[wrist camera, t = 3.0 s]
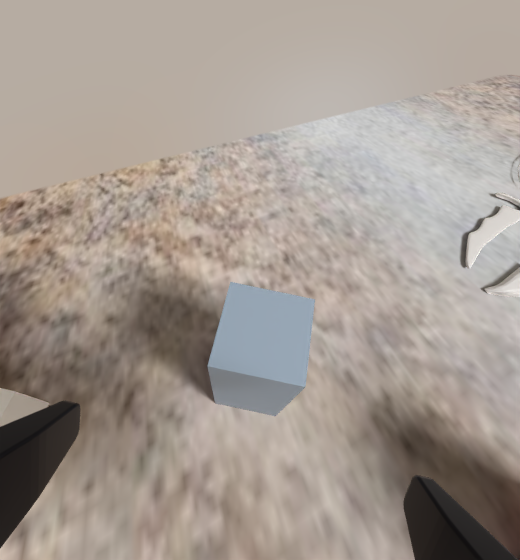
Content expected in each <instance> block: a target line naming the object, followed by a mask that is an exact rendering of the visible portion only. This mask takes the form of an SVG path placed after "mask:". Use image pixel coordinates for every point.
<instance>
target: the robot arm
mask: <svg viewBox="0 0 520 560" xmlns="http://www.w3.org/2000/svg"><path fill="white" fill-rule="evenodd" d="M79 425H80V405H79V404H78V403H75V402H70V401H61V402H59V403H56V404H54V405H51V406H49V407H47V408H44V409H42V410H39V411H37V412H34V413H32V414H30V415H27V416H25V417H22V418H20V419H18V420H15V421H13V422H10V423H8V424H6V425H3V426H1V427H0V548H1V547H2V545H3V544H4V543H5V541H6V540H7V539H8V538H9V536H10V535H11V534H12V532H13V531H14V530H15V528H16V527H17V526H18V524H19V523H20V522H21V520H22V519H23V518H24V516H25V515H26V514H27V512H28V511H29V510H30V509H31V507H32V506H33V504H34V503H35V502H36V500H37V499H38V498H39V496H40V494H41V493H42V491H43V490H44V488H45V487H46V485H47V484H48V482H49V481H50V479H51V477H52V476H53V474H54V473H55V471H56V469H57V468H58V466H59V465H60V463H61V461H62V460H63V458H64V457H65V455H66V453H67V452H68V450H69V449H70V447H71V446H72V444H73V442H74V441H75V439H76V437H77V435H78V432H79ZM404 512H405V516H406V521H407V525H408V530H409V534H410V539H411V544H412V548H413V553H414V557H415V560H518V559H517V558H516V557H515V556H514V555H513V554H511V553H510V552H509V551H508V550H507V549H506V548H505V547H504V546H503V545H502V544H501V543H500V542H499V541H498V540H497V539H496V538H494V537H493V536H492V535H491V534H490V533H489V532H488V531H487V530H486V529H485V528H484V527H483V526H482V525H481V524H480V523H478V522H477V521H476V520H475V519H474V518H473V517H472V516H471V515H470V514H469V513H468V512H467V511H466V510H465V509H464V508H463V507H461V506H460V505H459V504H458V503H457V502H456V501H455V500H454V499H453V498H452V497H451V496H450V495H449V494H448V493H447V492H445V491H444V490H443V489H442V488H441V487H440V486H439V485H438V484H437V483H436V482H435V481H434V480H433V479H431V478H429V477H424V476H419V475H415V476H414V477H413V478H412V480H411V482H410V485H409V487H408V490H407V493H406V495H405V498H404Z"/></svg>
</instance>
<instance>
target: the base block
mask: <svg viewBox="0 0 520 560" xmlns="http://www.w3.org/2000/svg"><path fill="white" fill-rule="evenodd" d="M48 405H49V403H48V402H46V401H43V400H40V399H37V398H34V397H31V396H28V395H25V394H22V393H19V392H16V391H11V390H7V389H2V388H0V427H1V426H3V425H6V424H8V423H10V422H13V421H15V420H18V419H20V418H22V417H25V416H27V415H30V414H32V413H34V412H37V411H39V410H42V409H44V408H47V407H48Z"/></svg>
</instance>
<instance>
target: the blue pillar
mask: <svg viewBox="0 0 520 560" xmlns="http://www.w3.org/2000/svg"><path fill="white" fill-rule="evenodd" d="M314 303H315V299H310V298H305V297H300V296H296V295H291V294H286V293H281V292H276V291H272V290H267V289H262V288H257V287H252V286H248V285H243V284H238V283H233V282H230V286H229V289H228V293H227V297H226V300H225V304H224V308H223V311H222V315H221V318H220V322H219V326H218V329H217V333H216V337H215V340H214V344H213V348H212V351H211V355H210V359H209V362H208V366H207V367H208V371H209V376H210V381H211V386H212V391H213V396H214V401H215V403H217V404H222V405H226V406H231V407H235V408H240V409H245V410H249V411H254V412H259V413H263V414H268V415H273V416H276V415H277V414H278V413H279V412H280V411H281V410H282V409H283V408H284V407H285V406H286V405H287V404H288V403H290V402H291V401H292V400H293V399H294V398H295V397H296V396H297V395H298V394H299V393H300V392H301V391H302V390H303V389H304V388H305V386H306V376H307V367H308V358H309V349H310V340H311V330H312V321H313V312H314Z"/></svg>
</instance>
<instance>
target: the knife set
mask: <svg viewBox="0 0 520 560" xmlns="http://www.w3.org/2000/svg"><path fill="white" fill-rule="evenodd" d="M519 165H520V163H519ZM518 168H519V166H518ZM518 178H519V181H520V176H519V170H518ZM495 195H496V196H497V197H499V198H502V199H505V200H508V201H510V202H512V203H514V204H516V205H517V206H519V207H520V199H516V198H514V197H511V196H509V195H507V194H504V193H495ZM518 221H520V210H516V209H513V208H510V207H508V206H501V208H500V210H499V211H498V213H497V214H496V215H494V216H492V217H490V218H485V219H484V220H483V222H482V224H481V226H480V227H479V229H478V230H476V231H474V232H471V233H469V235H468V240H467V248H466V259H465V261H466V267H467V268H470V267H471V266H472V265H473V263H474V261H475V260H476V258H477V256H478V254H479V253H480V251H481V249H482V248H483V246H484V245H485V244H487V243H488V242H489V241H490V240H492V239H493V238H494V237H496V236H497V235H498V234H499V233H501V232H502V231H504V230H505V229H506V228H507V227H508V226H510V225H512V224H514V223H516V222H518ZM485 291H486V292H487V293H488V294H493V295H498V296H503V297H520V267H519V268H518V269H517V270H516V271H514V272H513V273H512V274H511V275H509V276H508V277H507V278H506V279H505V280H503V281H502V282H501V283H499V284H498V285H496V286H492V287H488V288H485Z"/></svg>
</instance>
